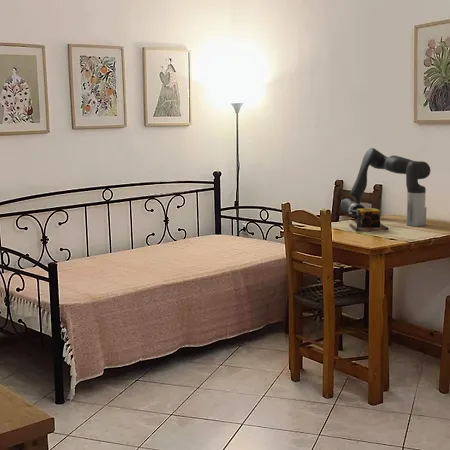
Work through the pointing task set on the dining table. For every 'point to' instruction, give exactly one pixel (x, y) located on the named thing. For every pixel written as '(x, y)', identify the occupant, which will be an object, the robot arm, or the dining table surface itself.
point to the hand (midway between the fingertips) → (364, 214)
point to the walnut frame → (382, 227)
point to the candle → (368, 218)
